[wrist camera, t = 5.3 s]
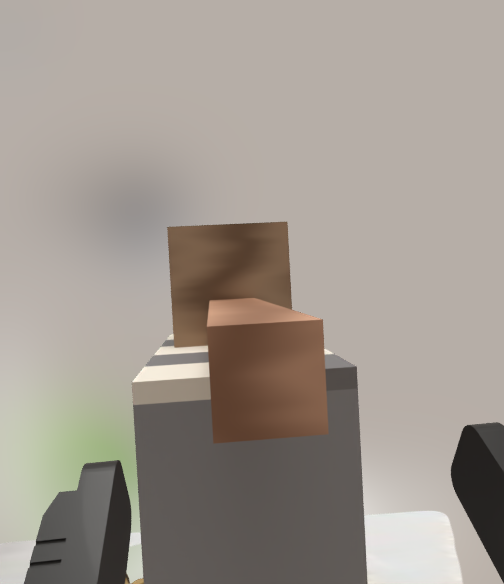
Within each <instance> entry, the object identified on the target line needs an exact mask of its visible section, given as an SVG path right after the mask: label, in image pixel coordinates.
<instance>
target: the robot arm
mask: <svg viewBox="0 0 504 584" xmlns="http://www.w3.org/2000/svg"><path fill="white" fill-rule="evenodd" d="M451 478H452V483H453V487H454V490H455V492H456V494H457V496H458V498H459V500H460V502H461V504H462V505H463V508H464V509H465V511H466V513H467V515H468V517H469V519H470V521H471V522H472V524H473V526H474V528H475V530H476V532H477V534H478V536H479V538H480V540H481V541H482V543H483V545H484V547H485V549H486V551H487V552H488V555H489V556H490V558H491V560H492V562H493V564H494V566H495V568H496V569H497V571H498V573H499V575H500V577H501V579H502V581H503V583H504V426H503V425H502V424H500V423H486V424H475V425H467V426H465V427H464V428H463V431H462V434H461V437H460V440H459V443H458V447H457V450H456V454H455V457H454V460H453V463H452V466H451ZM130 533H131V505H130V499H129V495H128V491H127V486H126V482H125V478H124V474H123V469H122V466H121V462H120V461H119V460H117V461H107V462H96V463H86V464H85V465H84V466H83V468H82V472H81V476H80V480H79V485H78V489H77V491H66V492H59V493H58V495H57V496H56V498H55V499H54V500H53V502H52V503H51V505H50V506H49V508H48V509H47V511H46V512H45V513H44V515H43V517H42V521H41V525H40V529H39V532H38V536H37V539H36V546H34V550H33V553H32V557H31V560H30V568H28V571H27V574H26V578H25V582H24V584H125V579H126V570H127V561H128V552H129V542H130Z"/></svg>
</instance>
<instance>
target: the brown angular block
mask: <svg viewBox="0 0 504 584" xmlns="http://www.w3.org/2000/svg"><path fill="white" fill-rule="evenodd" d="M167 228H168V246H169V263H170V280H171V298H172V315H173V333H174V348H178V347H194V346H208V357H209V374H210V392H211V410H212V428H213V444H215V443H228V442H240V441H252V440H264V439H277V438H289V437H301V436H314V435H326V434H329V432H328V412H327V392H326V373H325V353H324V335H323V320H322V319H319V318H316V317H313V316H310V315H307V314H303V313H301V312H297V311H294V310H292V302H291V282H290V263H289V245H288V225H287V222H271V223H247V224H226V225H204V226H203V225H202V226H180V227H167Z"/></svg>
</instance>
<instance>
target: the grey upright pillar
mask: <svg viewBox="0 0 504 584" xmlns="http://www.w3.org/2000/svg"><path fill="white" fill-rule="evenodd" d="M324 353H325V373H326V392H327V412H328V432H329V434H326V435H314V436H301V437H289V438H277V439H264V440H252V441H240V442H228V443H215V444H213V428H212V410H211V392H210V374H209V357H208V346H194V347H178V348H174V334H173V335H170V336H169V337H168V338H167V340H166V341H165V342H164V343H163V345H162V346H161V347H160V348H159V350H158V351H157V352H156V353H155V355H154V356H153V357H152V358H151V359H150V361H149V362H148V363H147V364H146V366H145V367H144V368H143V369H142V370H141V372H140V373H139V374H138V375H137V377H136V378H135V379H134V380H133V382H132V392H133V407H134V408H133V409H134V426H135V443H136V460H137V477H138V493H139V510H140V527H141V544H142V559H143V578H144V584H367V566H366V546H365V526H364V508H363V507H364V506H363V486H362V466H361V446H360V426H359V407H358V387H357V386H358V385H357V367H356V366H355V365H353V364H351V363H349V362H347V361H346V360H344V359H342V358H340V357H339V356H337V355H335V354H333V353H331V352H330V351H328V350H326V349H325V348H324Z"/></svg>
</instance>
